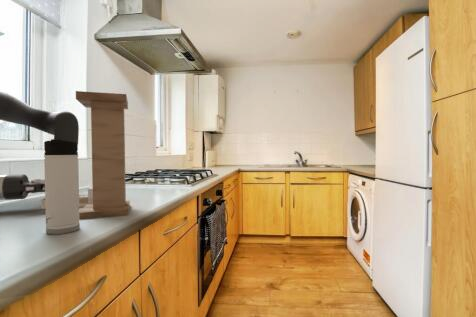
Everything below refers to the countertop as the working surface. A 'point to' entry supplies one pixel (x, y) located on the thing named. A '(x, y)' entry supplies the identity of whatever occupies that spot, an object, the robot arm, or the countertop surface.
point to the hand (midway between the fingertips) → (71, 184)
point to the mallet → (82, 199)
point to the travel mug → (61, 186)
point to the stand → (106, 154)
